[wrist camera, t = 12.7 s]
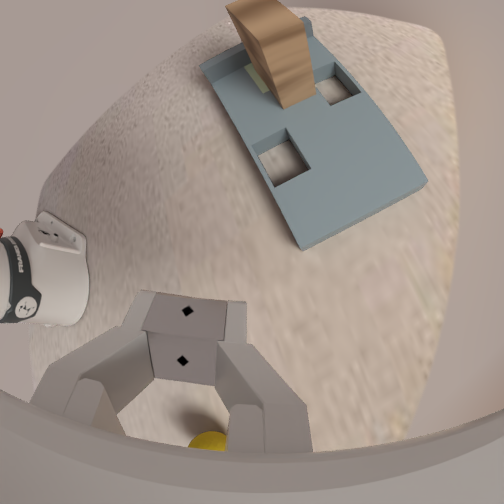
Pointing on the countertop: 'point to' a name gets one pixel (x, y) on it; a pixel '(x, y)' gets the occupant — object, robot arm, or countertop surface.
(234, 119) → the deck
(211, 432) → the lemon
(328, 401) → the countertop surface
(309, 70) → the block
